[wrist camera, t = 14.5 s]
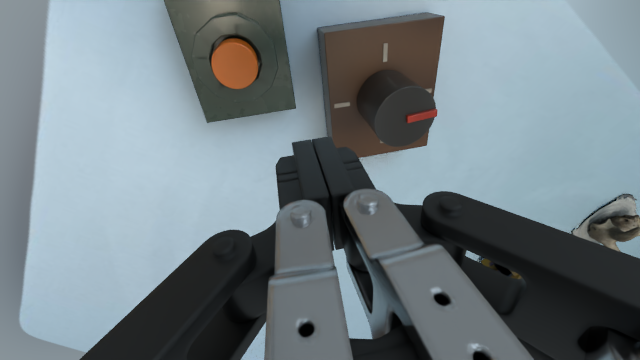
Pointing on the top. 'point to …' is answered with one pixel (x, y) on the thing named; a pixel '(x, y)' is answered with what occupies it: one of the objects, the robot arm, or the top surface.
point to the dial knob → (396, 108)
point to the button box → (242, 23)
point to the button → (235, 63)
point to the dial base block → (374, 71)
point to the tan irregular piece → (612, 223)
